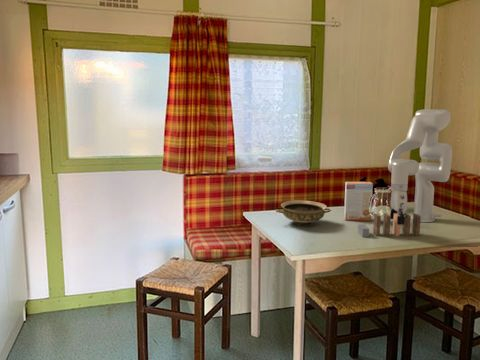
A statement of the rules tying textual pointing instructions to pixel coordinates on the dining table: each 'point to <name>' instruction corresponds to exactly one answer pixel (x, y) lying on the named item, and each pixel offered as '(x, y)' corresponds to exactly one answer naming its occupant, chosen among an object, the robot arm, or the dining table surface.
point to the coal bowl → (379, 184)
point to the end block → (363, 230)
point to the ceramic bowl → (303, 211)
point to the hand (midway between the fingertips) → (397, 221)
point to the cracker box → (357, 201)
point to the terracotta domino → (396, 225)
